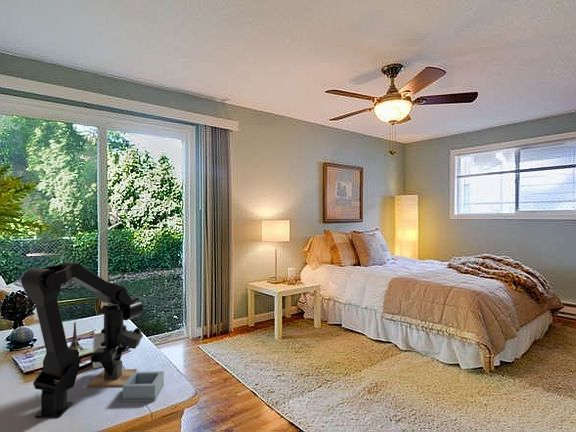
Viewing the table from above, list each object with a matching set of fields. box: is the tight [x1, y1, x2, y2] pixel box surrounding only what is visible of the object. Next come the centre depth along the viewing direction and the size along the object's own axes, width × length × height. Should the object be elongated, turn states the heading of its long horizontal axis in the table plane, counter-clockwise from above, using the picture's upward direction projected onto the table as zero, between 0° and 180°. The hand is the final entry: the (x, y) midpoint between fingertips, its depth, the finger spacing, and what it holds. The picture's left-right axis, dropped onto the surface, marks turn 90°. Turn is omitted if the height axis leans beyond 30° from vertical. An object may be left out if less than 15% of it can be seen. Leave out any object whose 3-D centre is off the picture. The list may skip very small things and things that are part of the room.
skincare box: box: [92, 328, 106, 369], centre depth 123 cm, size 6×4×12 cm
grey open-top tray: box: [122, 371, 165, 403], centre depth 104 cm, size 9×9×4 cm
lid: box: [86, 359, 138, 389], centre depth 113 cm, size 11×11×5 cm
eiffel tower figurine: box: [68, 322, 85, 351], centre depth 133 cm, size 15×10×13 cm
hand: (113, 372), depth 113 cm, fingers closed on lid, 4 cm apart
